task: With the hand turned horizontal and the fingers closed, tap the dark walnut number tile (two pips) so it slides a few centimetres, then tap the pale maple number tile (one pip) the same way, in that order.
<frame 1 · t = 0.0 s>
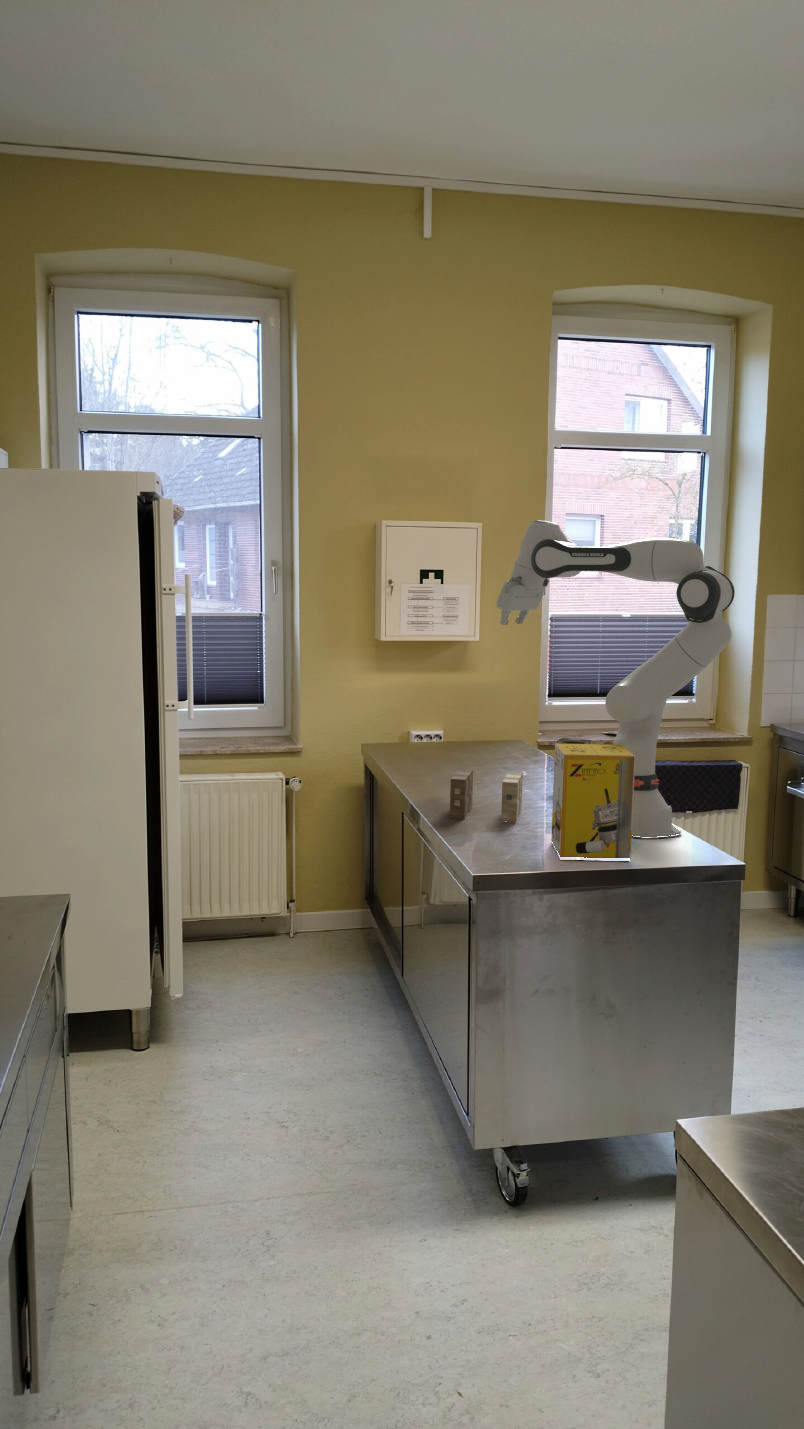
hand: (511, 624, 283), 52 cm above the counter, tool tilted 20°, fingers open, 8 cm apart
walnut tile two: (461, 813, 280), on the counter
coffee box: (572, 791, 311), on the counter
packaging box: (589, 853, 242), on the counter
maple tile one: (511, 816, 277), on the counter
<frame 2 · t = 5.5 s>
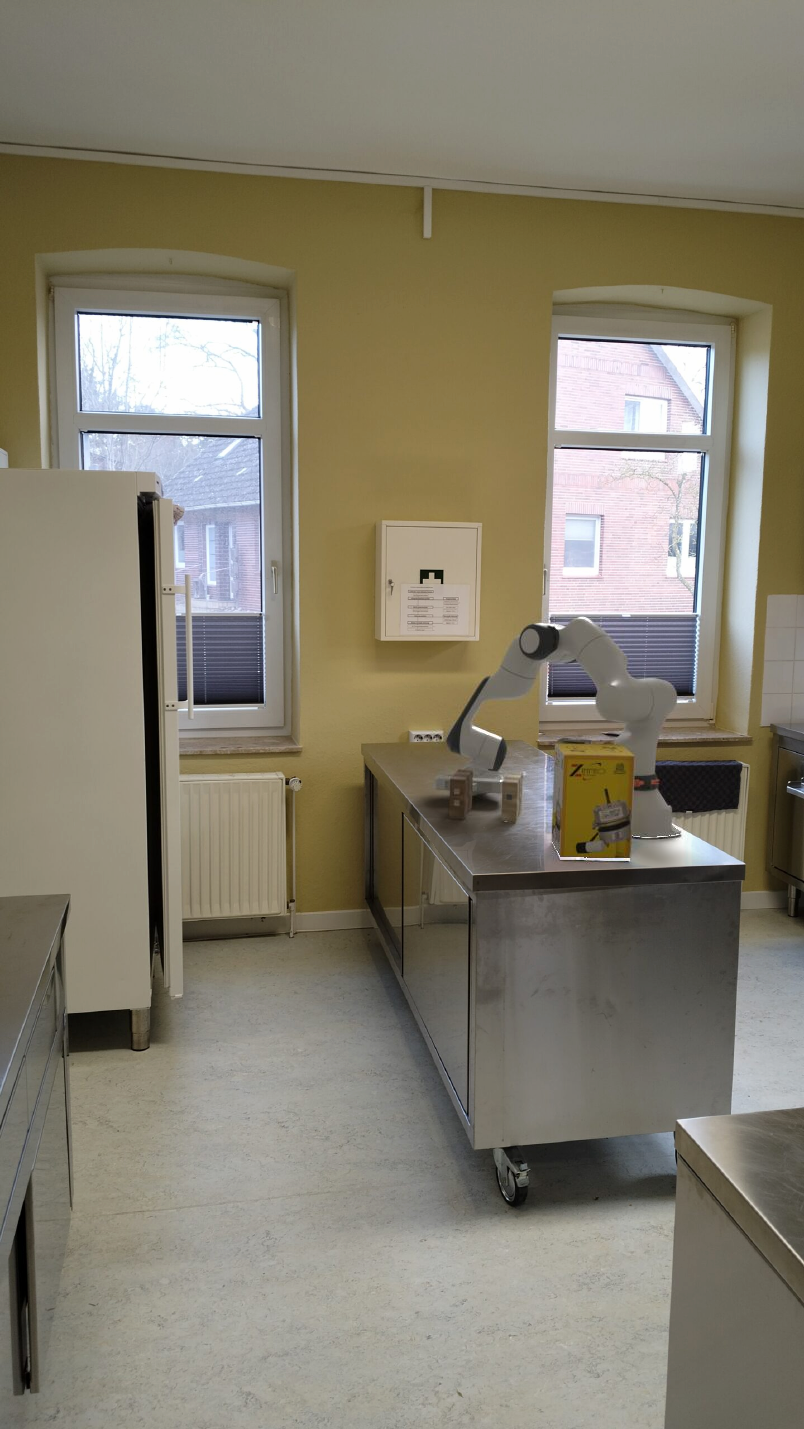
hand: (465, 789, 285), 5 cm above the counter, tool horizontal, fingers closed, pressing on walnut tile two
walnut tile two: (460, 813, 279), on the counter, touching gripper
everything else where it was.
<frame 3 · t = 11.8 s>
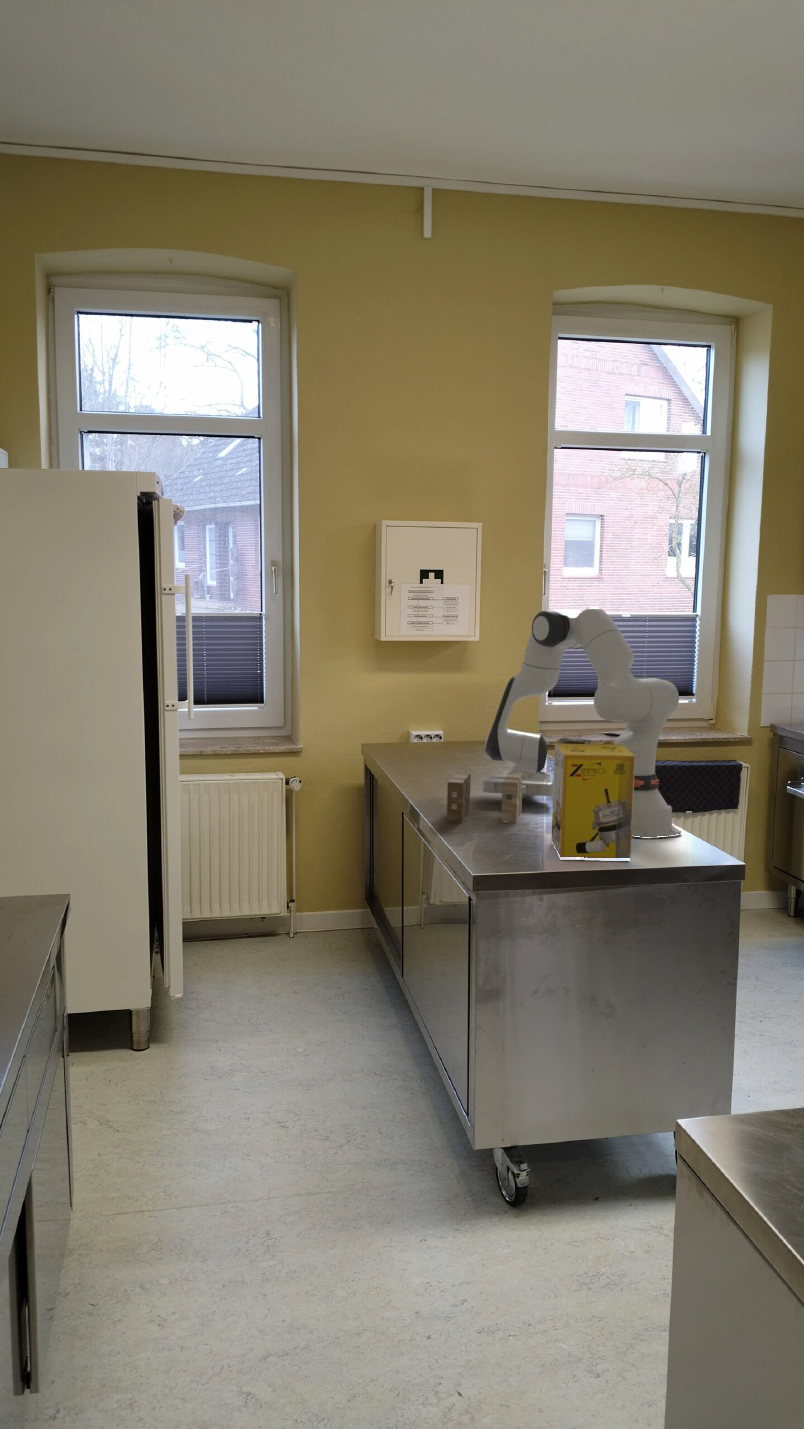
hand: (515, 791, 283), 5 cm above the counter, tool horizontal, fingers closed, pressing on maple tile one
walnut tile two: (458, 816, 276), on the counter
maple tile one: (511, 816, 277), on the counter, touching gripper
everything else where it was.
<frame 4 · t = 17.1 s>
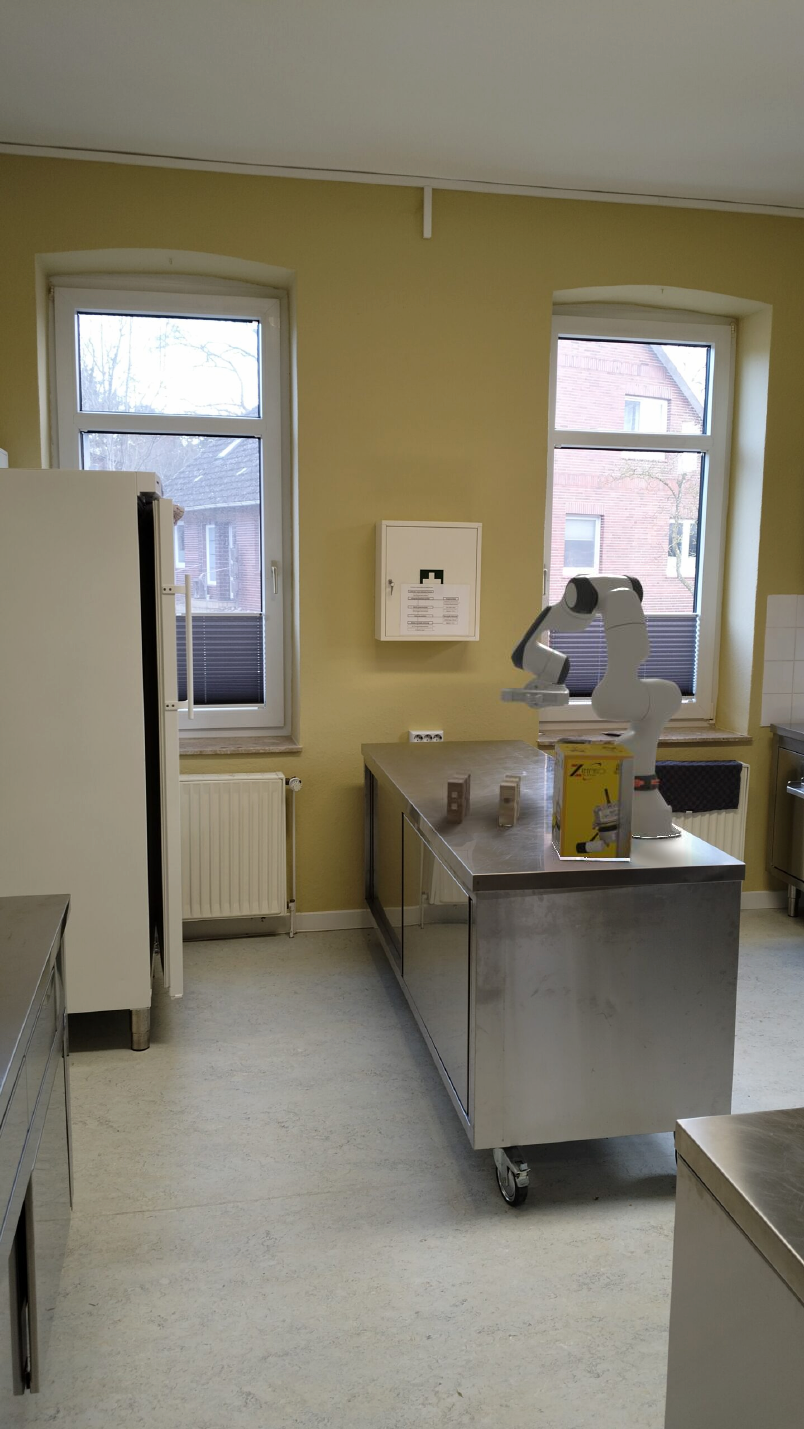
hand: (532, 699, 293), 30 cm above the counter, tool horizontal, fingers closed
maple tile one: (509, 820, 273), on the counter
everything else where it was.
at the end: walnut tile two moved 4.3 cm from its start; maple tile one moved 4.4 cm from its start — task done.
